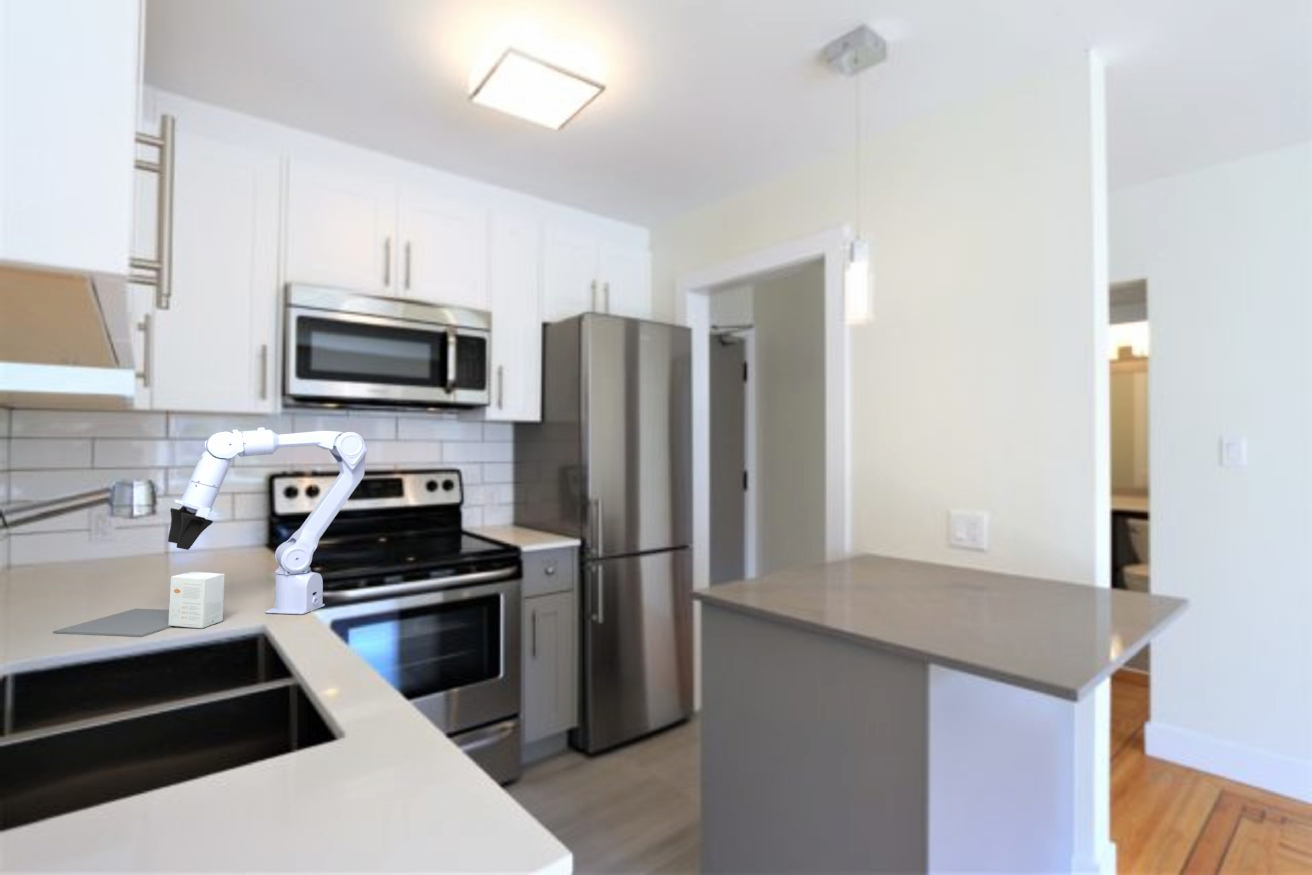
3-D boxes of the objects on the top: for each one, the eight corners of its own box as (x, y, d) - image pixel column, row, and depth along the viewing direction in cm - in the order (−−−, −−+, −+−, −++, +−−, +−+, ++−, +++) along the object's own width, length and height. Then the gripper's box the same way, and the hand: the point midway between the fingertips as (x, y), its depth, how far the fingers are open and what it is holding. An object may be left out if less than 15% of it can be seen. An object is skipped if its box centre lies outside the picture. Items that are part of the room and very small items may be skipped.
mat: (214, 613, 143) (214, 611, 143) (141, 636, 125) (141, 634, 125) (135, 610, 145) (135, 608, 145) (52, 632, 127) (52, 631, 127)
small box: (223, 621, 136) (226, 573, 136) (201, 629, 130) (205, 578, 130) (189, 618, 136) (192, 570, 137) (166, 625, 131) (170, 575, 131)
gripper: (175, 476, 137) (148, 536, 134) (192, 482, 128) (163, 547, 125) (211, 485, 142) (185, 543, 139) (230, 492, 133) (203, 554, 130)
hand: (178, 545), depth 132 cm, fingers open, 7 cm apart
